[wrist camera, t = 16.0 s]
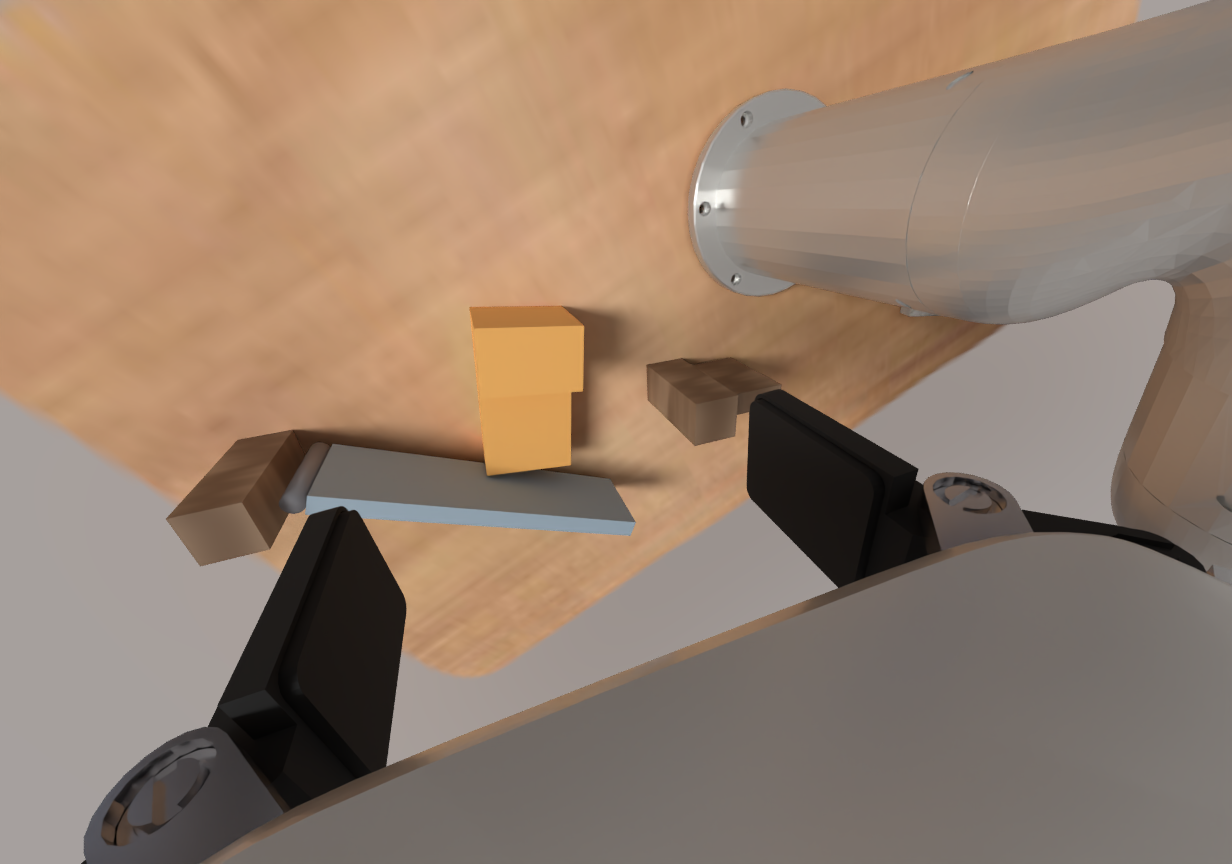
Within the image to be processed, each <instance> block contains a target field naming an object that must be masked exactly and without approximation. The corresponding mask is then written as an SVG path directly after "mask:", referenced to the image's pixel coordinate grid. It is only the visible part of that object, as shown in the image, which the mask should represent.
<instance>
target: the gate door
mask: <svg viewBox="0 0 1232 864" xmlns="http://www.w3.org/2000/svg"><path fill="white" fill-rule="evenodd" d="M339 506H344V507H345V508H347V509H348V511H351V510H356V511H357V512H358V513H359V514H360V516H361V518H367V519H382V520H398V521H413V522H428V523H444V524H459V525H474V526H490V527H505V528H520V529H536V530H551V531H566V532H582V533H597V534H612V535H628V536H630V535H631V533H632V530H633V528H634V525H635V523H636V522H635V520H634V519H633V517H632V515H631V514H630V512H629V510H628V508H627V507H626V505H625V503H624V502H623V500H622V498H621V497H620V495H619V493H618V492H617V490H616V488H615V486H614V485H613V483H612V481H611V480H610V479H607V478H599V477H592V476H584V475H576V474H568V473H560V472H552V471H544V470H529V471H521V472H514V473H506V474H498V475H491V476H487V473H486V466H485V463H481V462H473V461H465V460H457V459H449V458H441V457H433V456H425V455H417V454H409V453H402V452H394V451H386V450H378V449H370V448H362V447H354V446H346V445H338V444H332V446H331V447H330V446H329V445H327V444H326V443H322V442H317V443H314V444H313V445H311V447H310V449H309V450H308V452H307V454H306V455H305V457H304V459H303V461H302V462H301V464H300V466H299V468H298V469H297V471H296V473H295V475H294V476H293V478H292V480H291V481H290V483H289V485H288V487H287V488H286V490H285V492H284V494H283V495H282V497H281V499H280V500H279V507H280V508H281V510H283V511H284V512H287V513H291V514H295V513H299V512H302V511H303V510H304V509H305V507H306V512H305V514H306V515H311V514H313V513H317V512H320V511H324V510H328V509H332V508H335V507H339Z"/></svg>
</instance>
